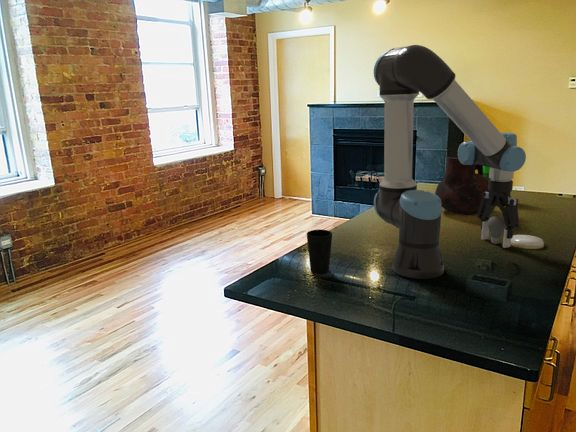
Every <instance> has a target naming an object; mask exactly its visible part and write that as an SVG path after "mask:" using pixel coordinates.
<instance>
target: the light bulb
mask: <svg viewBox="0 0 576 432" xmlns="http://www.w3.org/2000/svg"><path fill="white" fill-rule="evenodd" d="M487 221H488V222H487V226H488V228H489V234H490V237H491V239H490V242H491V243H492V244H493V245H497V244H499V243H500V238H501V236H502V234H503V233H504V229H505V228H506V225H505V221H504V218H503V216H502V215H493V216H490V217H489V220H487Z"/></svg>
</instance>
